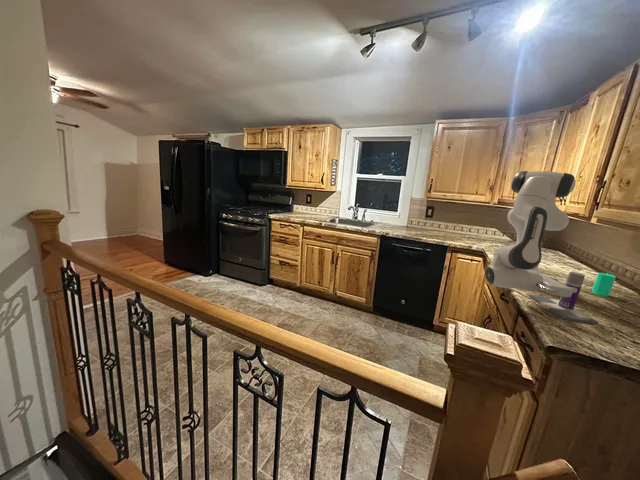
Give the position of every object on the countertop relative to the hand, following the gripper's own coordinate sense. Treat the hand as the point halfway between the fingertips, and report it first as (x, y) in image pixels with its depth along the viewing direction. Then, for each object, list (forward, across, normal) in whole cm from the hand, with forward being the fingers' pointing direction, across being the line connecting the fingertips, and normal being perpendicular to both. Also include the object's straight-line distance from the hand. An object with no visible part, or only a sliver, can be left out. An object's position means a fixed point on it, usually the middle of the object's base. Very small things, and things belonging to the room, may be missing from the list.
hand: (565, 285), depth 103 cm
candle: (+40, +29, +11) cm, 51 cm away
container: (+3, 0, +10) cm, 10 cm away
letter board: (+1, 0, +11) cm, 11 cm away
